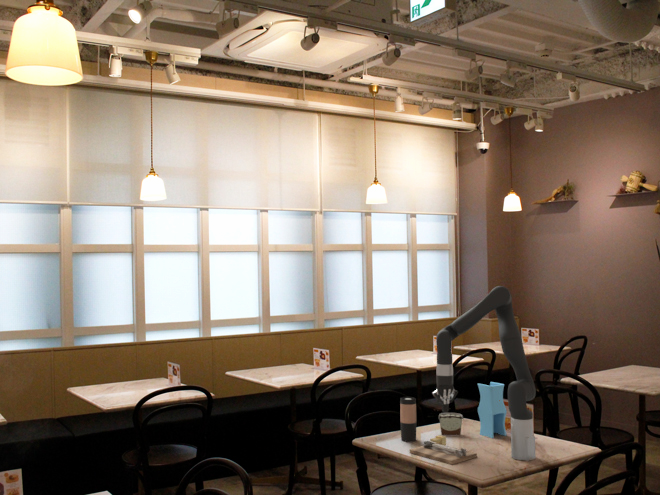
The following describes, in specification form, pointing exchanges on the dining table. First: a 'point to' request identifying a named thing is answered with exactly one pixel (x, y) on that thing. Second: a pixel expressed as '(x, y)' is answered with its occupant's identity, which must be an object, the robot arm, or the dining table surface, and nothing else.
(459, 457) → the wooden board with rail
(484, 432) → the light blue flared block
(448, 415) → the food container
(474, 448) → the dining table surface
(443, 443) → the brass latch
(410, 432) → the travel mug
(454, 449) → the tongs upper arm
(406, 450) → the dining table surface
